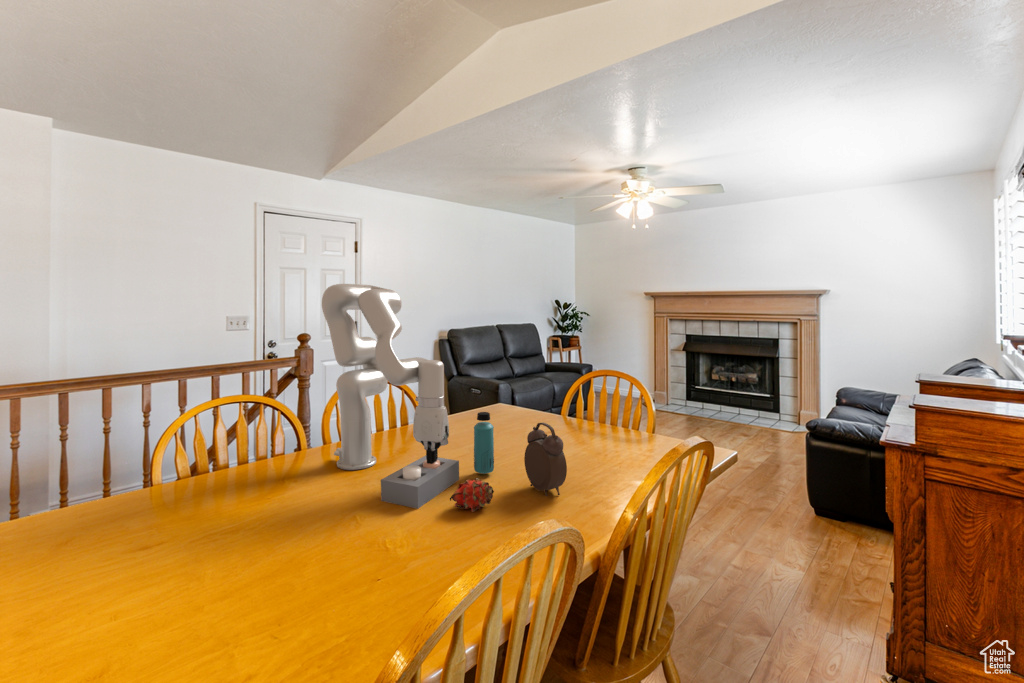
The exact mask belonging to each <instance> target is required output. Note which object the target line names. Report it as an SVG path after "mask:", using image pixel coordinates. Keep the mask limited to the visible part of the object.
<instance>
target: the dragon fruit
mask: <svg viewBox="0 0 1024 683" xmlns="http://www.w3.org/2000/svg"><path fill="white" fill-rule="evenodd" d="M494 492H495V490H494V488H493V487H492V486H491V485H490V483H489V482H486V481H482V480H481V479H480V478H477V477H476V478H475V479H466V480H465V481H464V482H462V483H459V484H458V487H457V488H456V490H455V491H454V492H453V494H452V495H451V496H450V497H449V501H450V502H451V501H453V502H455V503H454V507H455V508H457V509H464V510H468V509H471V512H472V513H473V512H475V511H477V510H480V509H483V507H484V506H485V505H490V504H491V502H492V499H493V497H494V495H493V494H494Z"/></svg>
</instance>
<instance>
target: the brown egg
mask: <svg viewBox="0 0 1024 683" xmlns="http://www.w3.org/2000/svg"><path fill="white" fill-rule="evenodd" d="M439 466H440V461H439V460H437V461H436V462H434V463H433V464H430V463H427V460H426V461H424V462H423V467H427V468H432V469H435V468H437V467H439Z"/></svg>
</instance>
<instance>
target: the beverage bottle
mask: <svg viewBox="0 0 1024 683" xmlns="http://www.w3.org/2000/svg"><path fill="white" fill-rule="evenodd" d="M476 420H477V421H479V422H477V423H476V424H475V425H474V426H473V469H474V472H475V473H478V474H489V473H492V472H493V471H494V468H495V447H494V445H495V441H494V425H493V424H492V423H491V422H489V421H490V420H491V413H490V412H489V411H488V412H487V411H479V412H477V416H476Z"/></svg>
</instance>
